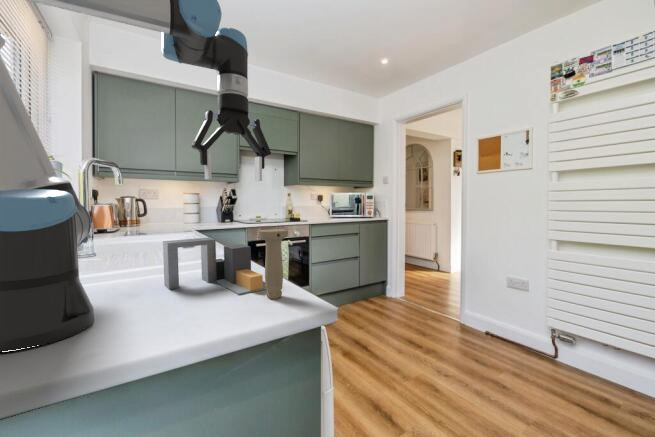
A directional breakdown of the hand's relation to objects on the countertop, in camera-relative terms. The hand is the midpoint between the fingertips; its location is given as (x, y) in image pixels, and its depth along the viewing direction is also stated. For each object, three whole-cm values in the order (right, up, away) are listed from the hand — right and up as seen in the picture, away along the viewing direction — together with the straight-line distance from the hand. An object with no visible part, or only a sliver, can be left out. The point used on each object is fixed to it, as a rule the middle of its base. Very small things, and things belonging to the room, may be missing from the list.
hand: (234, 180), depth 78 cm
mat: (+3, -27, -2) cm, 27 cm away
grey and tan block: (+3, -26, -1) cm, 27 cm away
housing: (-10, -27, +1) cm, 29 cm away
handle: (+12, -28, -11) cm, 32 cm away
